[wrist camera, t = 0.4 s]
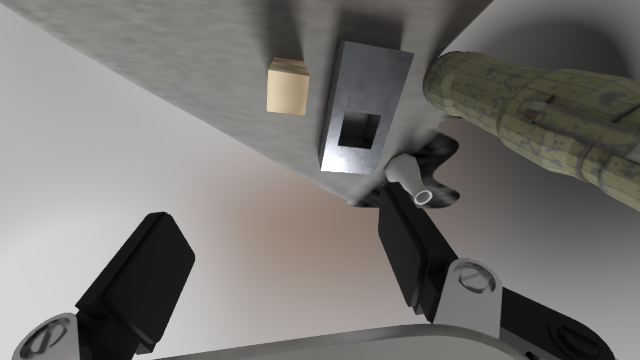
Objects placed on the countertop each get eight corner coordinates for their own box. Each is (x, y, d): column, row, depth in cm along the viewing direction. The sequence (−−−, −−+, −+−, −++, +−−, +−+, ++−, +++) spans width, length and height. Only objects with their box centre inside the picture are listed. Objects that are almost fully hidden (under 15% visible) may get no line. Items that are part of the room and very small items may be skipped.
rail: (318, 156, 45) (321, 170, 41) (338, 38, 34) (345, 41, 30) (366, 161, 47) (373, 174, 43) (400, 50, 36) (414, 53, 32)
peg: (272, 87, 37) (266, 111, 27) (274, 56, 35) (268, 69, 25) (300, 91, 38) (304, 115, 28) (303, 61, 36) (309, 76, 26)
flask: (396, 187, 52) (417, 218, 44) (377, 170, 49) (395, 200, 40) (423, 166, 49) (450, 194, 41) (405, 146, 46) (430, 173, 38)
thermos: (463, 110, 43) (813, 287, 14) (406, 99, 41) (689, 284, 12) (491, 58, 38) (1098, 164, 10) (429, 42, 36) (988, 120, 7)
